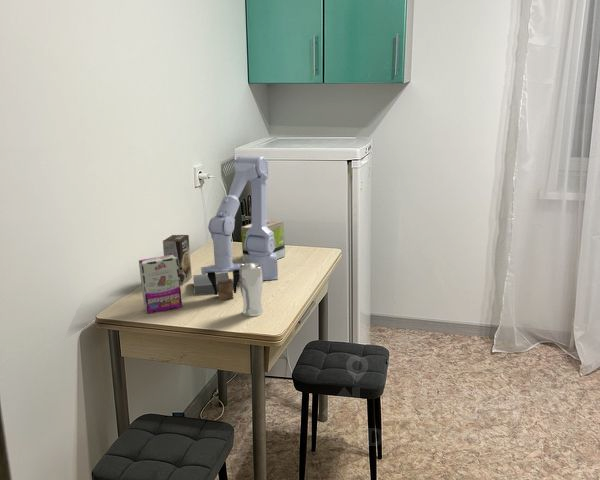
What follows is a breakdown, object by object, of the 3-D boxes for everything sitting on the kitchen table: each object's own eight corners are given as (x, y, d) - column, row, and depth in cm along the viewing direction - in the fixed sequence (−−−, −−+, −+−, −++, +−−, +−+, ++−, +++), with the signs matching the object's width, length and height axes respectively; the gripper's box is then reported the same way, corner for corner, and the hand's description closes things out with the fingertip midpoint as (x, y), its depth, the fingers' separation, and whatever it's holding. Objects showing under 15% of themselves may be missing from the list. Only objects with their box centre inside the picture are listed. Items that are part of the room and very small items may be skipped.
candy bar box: (178, 302, 189) (173, 253, 185) (182, 307, 185) (178, 257, 180) (143, 309, 184) (138, 259, 180) (147, 314, 180) (141, 263, 176)
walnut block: (232, 294, 195) (231, 278, 194) (233, 299, 191) (232, 283, 190) (218, 295, 194) (217, 279, 193) (219, 300, 190) (218, 284, 189)
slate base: (228, 280, 209) (227, 272, 208) (230, 291, 198) (230, 283, 197) (193, 283, 207) (193, 275, 206) (194, 294, 196) (193, 286, 195)
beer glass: (241, 309, 182) (238, 263, 178) (263, 308, 182) (261, 261, 178) (241, 317, 175) (238, 270, 171) (264, 316, 176) (262, 268, 172)
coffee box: (182, 285, 205) (179, 241, 201) (165, 285, 206) (161, 240, 202) (192, 277, 214) (189, 234, 209) (176, 276, 215) (172, 234, 211)
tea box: (266, 253, 242) (264, 218, 238) (285, 256, 236) (284, 221, 232) (242, 262, 230) (240, 225, 226) (262, 266, 224) (260, 228, 220)
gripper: (200, 258, 184) (203, 299, 187) (246, 254, 186) (249, 295, 190) (199, 252, 190) (202, 292, 194) (244, 248, 193) (246, 288, 197)
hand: (225, 293), depth 192 cm, fingers open, 5 cm apart
